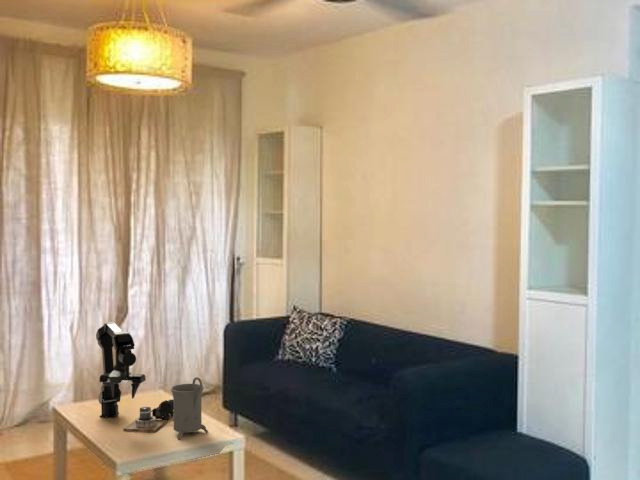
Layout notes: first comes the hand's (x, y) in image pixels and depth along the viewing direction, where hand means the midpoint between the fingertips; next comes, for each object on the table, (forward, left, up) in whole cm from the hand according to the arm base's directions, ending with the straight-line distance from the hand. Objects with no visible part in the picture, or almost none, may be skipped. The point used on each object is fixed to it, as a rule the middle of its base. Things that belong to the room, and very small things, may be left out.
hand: (122, 397), depth 287 cm
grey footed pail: (+31, -4, -13) cm, 34 cm away
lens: (+9, +3, -12) cm, 15 cm away
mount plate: (+9, +3, -13) cm, 16 cm away
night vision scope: (+12, +17, -13) cm, 25 cm away
